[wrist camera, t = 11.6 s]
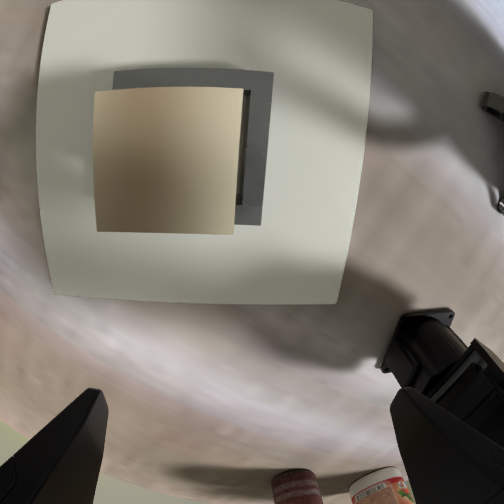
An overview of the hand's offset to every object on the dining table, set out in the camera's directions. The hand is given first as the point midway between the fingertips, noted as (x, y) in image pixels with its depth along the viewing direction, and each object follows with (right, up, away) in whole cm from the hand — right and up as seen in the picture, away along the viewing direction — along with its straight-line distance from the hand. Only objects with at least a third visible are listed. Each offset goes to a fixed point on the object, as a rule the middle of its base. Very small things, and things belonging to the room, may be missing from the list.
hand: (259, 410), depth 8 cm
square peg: (-3, +10, +8) cm, 14 cm away
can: (+5, -26, +26) cm, 37 cm away
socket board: (-4, +11, +9) cm, 14 cm away
